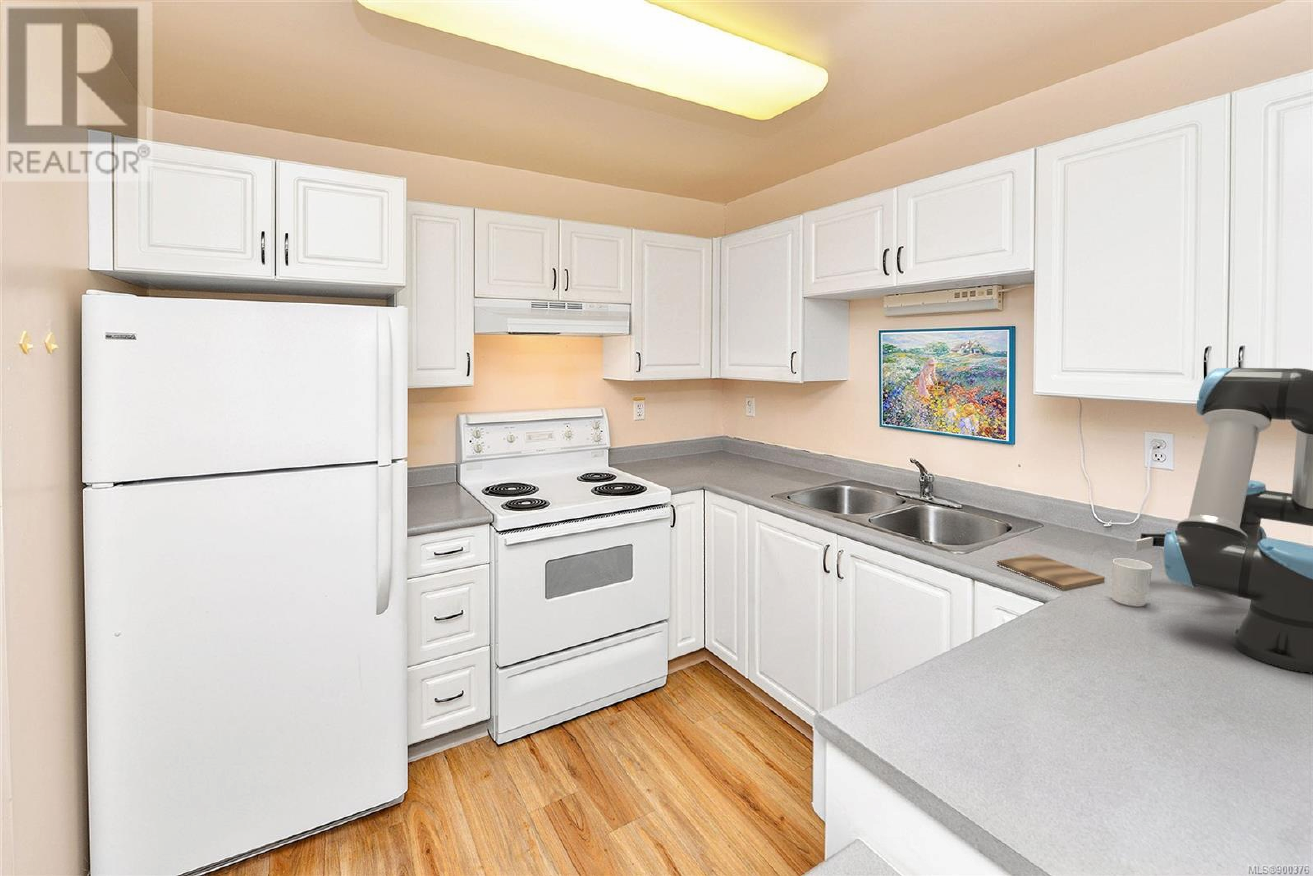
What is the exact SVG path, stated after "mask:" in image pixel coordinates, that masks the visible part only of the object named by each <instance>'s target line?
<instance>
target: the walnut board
mask: <svg viewBox="0 0 1313 876" xmlns="http://www.w3.org/2000/svg"><path fill="white" fill-rule="evenodd" d="M997 564H999V565H1001V566H1004V567H1006V568H1010V569H1012V570H1014V571H1016V572H1020V573H1022V574H1024V575H1026V576H1028V577H1033V578H1035V579H1037V580H1039V581H1041V582H1045V583H1048V584H1050V585H1052V586H1055V587H1057V588H1059V589H1061V590H1060V591H1062V590H1065V591H1069V590H1075V589H1079V588H1083V587H1088V586H1093V585H1099V584H1102V583H1105V581H1106V580H1105V579H1106V577H1105V576H1103V575H1100V574H1097V573H1094V572H1091V571H1088V570H1085V569H1082V568H1079V567H1076V566H1074V565H1073V566H1072V565H1070V564H1067V563H1064V562H1061V561H1058V560H1055V559H1053V558H1049V557H1046V556H1043V555H1040V554H1038V553H1035V554H1030V555H1023V556H1017V557H1013V558H1007V559H1001V560H997V561H996V565H997ZM1028 577H1027V578H1028ZM1041 582H1040V583H1041ZM1052 586H1051V587H1052ZM1057 588H1056V589H1057ZM1059 589H1058V590H1059Z"/></svg>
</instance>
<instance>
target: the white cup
mask: <svg viewBox="0 0 1313 876" xmlns="http://www.w3.org/2000/svg"><path fill="white" fill-rule="evenodd" d="M1111 571H1112V572H1111V599H1112V600H1113V601H1114V602H1116V603H1118V604H1121V605H1125V606H1130V607H1137V608H1138V607H1143V606H1146V601H1147V595H1148V594H1149V589H1150V585H1151V584H1150V583H1151V578H1152V572H1153V565H1151V564H1150V563H1148V562H1146V561H1145V562H1144V561H1142V560H1138V559H1132V558H1127V557H1126V558H1125V557H1121V558H1120V557H1118V558H1117V557H1116V558H1114V559H1113V560H1112V568H1111Z"/></svg>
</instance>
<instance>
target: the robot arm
mask: <svg viewBox="0 0 1313 876" xmlns="http://www.w3.org/2000/svg"><path fill="white" fill-rule="evenodd" d="M1195 407H1196V409H1195V410H1196V413H1197V414H1198V415H1200V416H1202V422H1203V423H1204V424H1205V425H1206V426H1208V431H1207V435H1206V439H1205V443H1204V448H1203V453H1202V456H1201V462H1200V465H1199V469H1198V474H1197V479H1196V482H1195V487H1194V491H1193V496H1192V501H1191V504H1190V509H1189V513H1188V517H1187V518H1185V519H1183V520H1180V521H1179V522H1178V523H1177V526H1176V529H1168V530H1166V532H1165V533H1140V538H1139V539H1134V540H1133V548H1132V550H1133V551H1135V552H1137V551H1142V550H1147V549H1153V547H1158V548H1159V547H1162V548H1163V563H1164V564H1163V566H1164V570H1165V571H1164V572H1165V575H1166V577H1167V578H1168V579H1169V580H1170V581H1171V582H1174V583H1177V584H1181V585H1183V586H1184V585H1185V586H1189V587H1190V588H1193V589H1194V588H1197V589H1200V590H1201V589H1202V590H1207V591H1210V592H1215V593H1220V594H1224V595H1229V596H1235V597H1237V598H1243V599H1247V600H1250V602H1249V603H1250V604H1249V610H1248V613H1247V614H1246V616H1245V617H1244V619H1243V621H1242V622H1241V624H1240V626H1239V627H1238V628H1237V629H1236V631H1234V634H1233V641H1232V644H1233V647H1235V649H1236V650H1238V651H1239V652H1241V653H1242V654H1244V655H1246V656H1248V657H1250V658H1252V659H1254V660H1257V661H1259V662H1262V663H1265V664H1268V665H1271V664H1272V665H1271V666H1274V665H1276V666H1275V667H1277V666H1280V667H1279V668H1281V667H1282V669H1285V668H1289V669H1292V670H1291V671H1293V670H1296V671H1295V672H1298V671H1300V672H1299V673H1304V672H1309V673H1308V674H1312V673H1311V672H1313V547H1311V546H1307V545H1305V544H1300V543H1296V542H1292V541H1288V540H1283V539H1273V538H1267V533H1266V531H1265V529H1264V528H1263V527H1262V526H1261V524H1262V523H1261V522H1262V521H1261V520H1262V519H1264V520H1270V521H1276V522H1283V523H1290V524H1294V525H1295V524H1297V525H1302V526H1308V527H1313V369H1308V368H1299V367H1293V368H1284V367H1283V368H1275V367H1274V368H1271V367H1240V366H1235V367H1220V368H1219V367H1218V368H1215V369H1213V370H1211V371H1210V372H1208V374H1207V375H1206V376H1205V378H1204V380H1203V382H1202V383H1201V386H1200V388H1199V391H1198V398H1197V401H1196V406H1195ZM1272 420H1281V421H1286V420H1287V421H1290V423H1291V425H1292V427H1293V428H1294V429H1295V430H1296V435H1295V436H1296V438H1295V451H1294V464H1293V476H1292V477H1293V478H1292V489H1291V490H1292V491H1291V493H1288V492H1282V491H1274V490H1269V489H1267V486H1266V484H1265V483H1264V482H1262V481H1260V480H1259V481H1257V480H1254V479H1251V474H1252V471H1253V467H1254V466H1253V465H1254V461H1255V456H1256V451H1257V447H1258V442H1259V436H1260V433H1261V432H1264V431H1266V430H1267V429H1269V428H1270V427H1271V425H1272ZM1289 669H1288V670H1289Z"/></svg>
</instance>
